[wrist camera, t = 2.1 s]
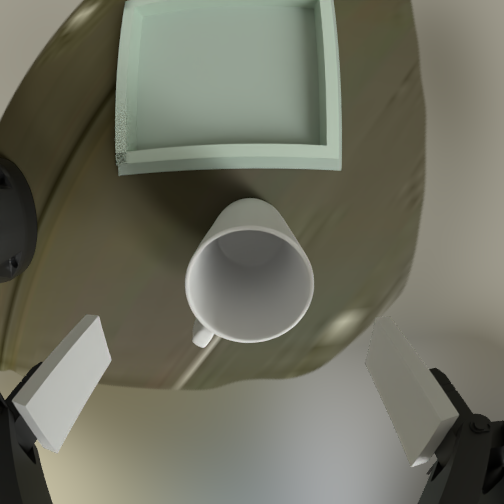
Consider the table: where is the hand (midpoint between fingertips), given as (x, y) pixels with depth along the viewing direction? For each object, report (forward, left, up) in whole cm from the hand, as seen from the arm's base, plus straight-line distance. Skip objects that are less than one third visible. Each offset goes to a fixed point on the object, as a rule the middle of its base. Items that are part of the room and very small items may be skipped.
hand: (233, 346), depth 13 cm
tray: (-1, +16, -15) cm, 22 cm away
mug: (0, 0, -15) cm, 15 cm away
